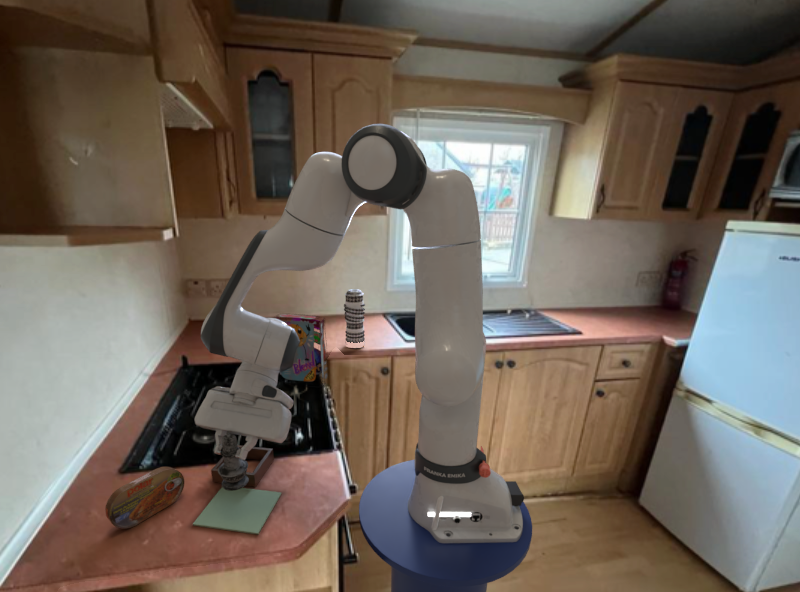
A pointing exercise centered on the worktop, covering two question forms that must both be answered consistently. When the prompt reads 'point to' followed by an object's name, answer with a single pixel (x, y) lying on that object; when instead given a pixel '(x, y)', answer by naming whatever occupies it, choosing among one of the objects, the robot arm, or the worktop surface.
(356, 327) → the decorative candle
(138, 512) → the tin
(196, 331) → the worktop surface
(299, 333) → the box
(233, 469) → the grey chess piece
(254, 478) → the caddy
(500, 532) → the robot arm
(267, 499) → the mat
